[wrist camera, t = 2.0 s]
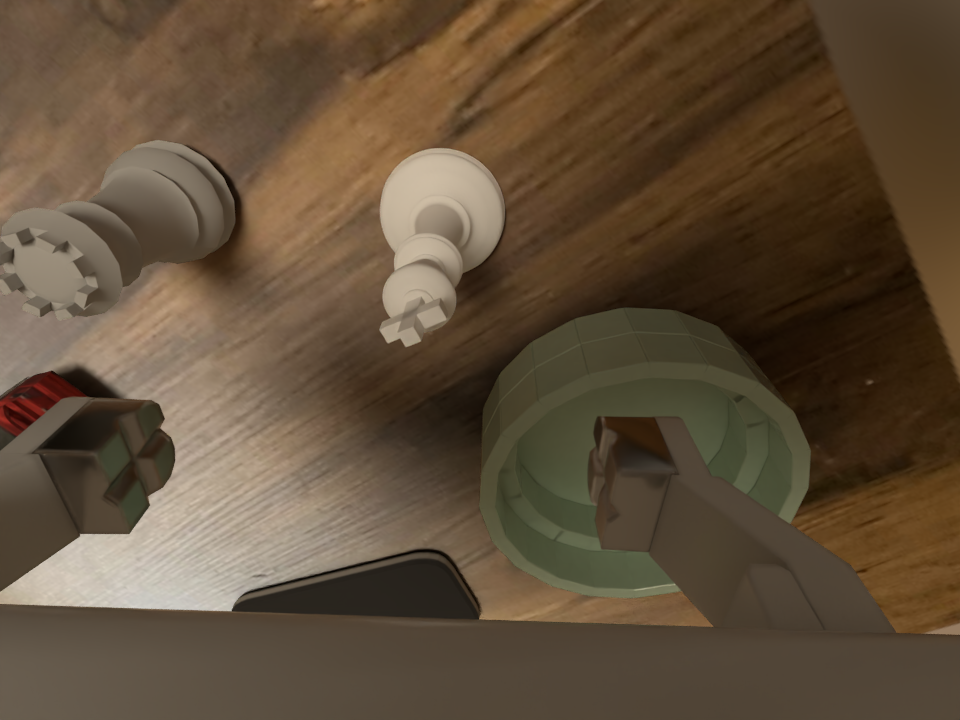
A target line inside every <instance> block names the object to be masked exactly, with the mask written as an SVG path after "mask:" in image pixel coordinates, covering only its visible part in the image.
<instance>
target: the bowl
mask: <svg viewBox="0 0 960 720" xmlns="http://www.w3.org/2000/svg"><path fill="white" fill-rule="evenodd" d="M597 416H624V417H652V416H678V417H680V418H681V419H683V421H684V423H685V425H686V427H687V429H688V431H689V433H690V435H691V437H692V438H693V440H694V442H695V444H696V446H697V448H698V450H699V452H700V454H701V456H702V458H703V460H704V462H705V464H706V466H707V468H708V469H709V471H710V473H711V475H712V476H717V477H722V478H723V479H724V480H726V481H727V482H729V483H730V484H732V485H733V486H735V487H736V488H738V489H739V490H741V491H742V492H744V493H745V494H747V495H748V496H750V497H751V498H752V499H754V500H755V501H757V502H758V503H760V504H761V505H763V506H764V507H766V508H767V509H769V510H770V511H772V512H773V513H775V514H776V515H777V516H779V517H780V518H782V519H783V520H785V521H786V522H788V523H789V524H790V523H791V522H792V520H793V518H794V516H795V514H796V512H797V510H798V508H799V506H800V504H801V502H802V500H803V498H804V496H805V494H806V492H807V490H808V488H809V474H810V458H811V450H810V446H809V444H808V442H807V439H806V437H805V435H804V433H803V430H802V428H801V426H800V424H799V421H798V419H797V417H796V415H795V413H794V411H793V410H792V409H791V407H790V406H789V405H788V403H787V402H786V401H785V400H784V398H783V397H782V396H781V394H780V393H779V392H778V391H777V389H776V388H775V387H774V385H773V384H772V383H771V382H770V380H769V379H768V378H767V376H766V375H765V374H764V373H763V371H762V370H761V369H760V367H759V366H758V365H757V364H756V362H755V361H754V360H753V358H752V357H751V356H750V355H749V353H748V352H747V351H746V350H744V349H743V348H742V347H741V346H740V345H739V344H738V343H736V342H735V341H734V340H733V339H732V338H731V337H730V336H728V335H727V334H726V333H725V332H724V331H723V330H722V329H720V328H719V327H718V326H716V325H713V324H711V323H708V322H705V321H703V320H700V319H697V318H695V317H692V316H689V315H687V314H684V313H681V312H678V311H676V310H666V309H647V308H628V307H625V308H618V309H614V310H609V311H605V312H600V313H596V314H592V315H587V316H583V317H578V318H575V319H574V320H571V321H569V322H567V323H565V324H563V325H561V326H560V327H558V328H556V329H554V330H552V331H550V332H549V333H547V334H545V335H543V336H541V337H539V338H537V339H536V340H534V341H532V343H529V344H528V345H527V346H526V347H525V348H524V349H523V350H522V351H521V352H520V353H519V354H518V355H517V356H516V357H515V358H514V359H513V360H512V361H511V362H510V363H509V364H508V365H507V366H506V367H505V368H504V369H503V370H502V371H501V373H500V375H499V376H498V378H497V380H496V382H495V384H494V387H493V389H492V391H491V393H490V395H489V397H488V399H487V401H486V403H485V405H484V408H483V416H482V432H481V456H480V490H479V509H480V512H481V514H482V517H483V520H484V522H485V525H486V527H487V530H488V532H489V535H490V538H491V540H492V542H493V543H494V544H495V545H496V546H497V547H498V548H499V549H500V550H501V552H502V553H503V554H504V555H505V556H506V557H507V558H508V559H509V560H510V561H511V562H512V563H513V564H514V565H515V566H516V567H518V568H519V569H521V570H523V571H525V572H526V573H528V574H530V575H532V576H534V577H535V578H537V579H539V580H541V581H543V582H544V583H546V584H548V585H550V586H552V587H556V588H560V589H564V590H567V591H571V592H575V593H579V594H583V595H586V596H594V597H615V598H640V597H647V596H654V595H661V594H668V593H675V592H678V591H679V592H680V591H681V590H680V589H679V587H678V586H677V585H676V584H675V583H674V582H673V581H672V580H671V579H670V577H669V576H668V575H667V574H666V573H665V572H664V571H663V570H662V569H661V568H660V566H659V565H658V564H657V563H656V562H655V561H654V560H653V559H652V558H651V556H650V555H649V552H636V551H619V550H602V549H601V547H600V543H599V538H598V534H597V529H596V525H595V514H596V509H597V507H596V506H595V505H594V504H593V503H592V502H591V501H590V497H589V492H588V483H587V466H588V459H589V452H590V451H591V450H592V449H593V448H594V447H595V446H596V444H595V440H594V436H593V430H594V424H595V421H596V418H597Z"/></svg>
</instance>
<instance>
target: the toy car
mask: <svg viewBox="0 0 960 720" xmlns="http://www.w3.org/2000/svg"><path fill="white" fill-rule="evenodd" d="M27 378H28V377H27ZM27 378H25V379H24V380H26V379H27ZM24 380H22V381H21V382H19V383H18V384H16V385H15V386H14V387H12V388H11V389H9V390H8V391H7V392H5V393H4V394H3V395H1V396H0V398H1V399H0V451H1V450H2V449H3V448H4V447H5V446H7V445H8V444H9V443H10V442H11V441H12V440H14V439H15V438H16V437H17V436H18V435H20V434H21V433H22V432H23V431H24V430H26V429H27V428H28V427H29V426H30V425H31V424H33V423H34V422H35V421H36V420H37V419H39V418H40V417H41V416H42V415H43V414H45V413H46V412H47V411H48V410H49V409H50V408H52V407H53V406H54V405H55V404H56V403H58V402H59V401H60V400H61V399H64V398H68V397H88V396H86V395H85V394H84V393H82V392H81V391H80V390H78V389H77V388H76V387H75V386H73V385H72V384H71V383H69V382H68V381H66V380H65V379H63V378H62V377H60V376H59V375H57V374H56V373H55V372H53V371H49V372H45V373H42V374H38V375H35V376H33V377H31V378H29V379H27V380H26V381H24ZM23 381H24V382H23ZM22 382H23V383H22ZM21 383H22V384H21ZM19 384H20V385H19ZM18 385H19V386H18ZM15 387H16V388H15ZM14 388H15V389H14ZM11 390H12V391H11ZM7 393H8V394H7ZM3 396H4V397H3Z"/></svg>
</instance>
